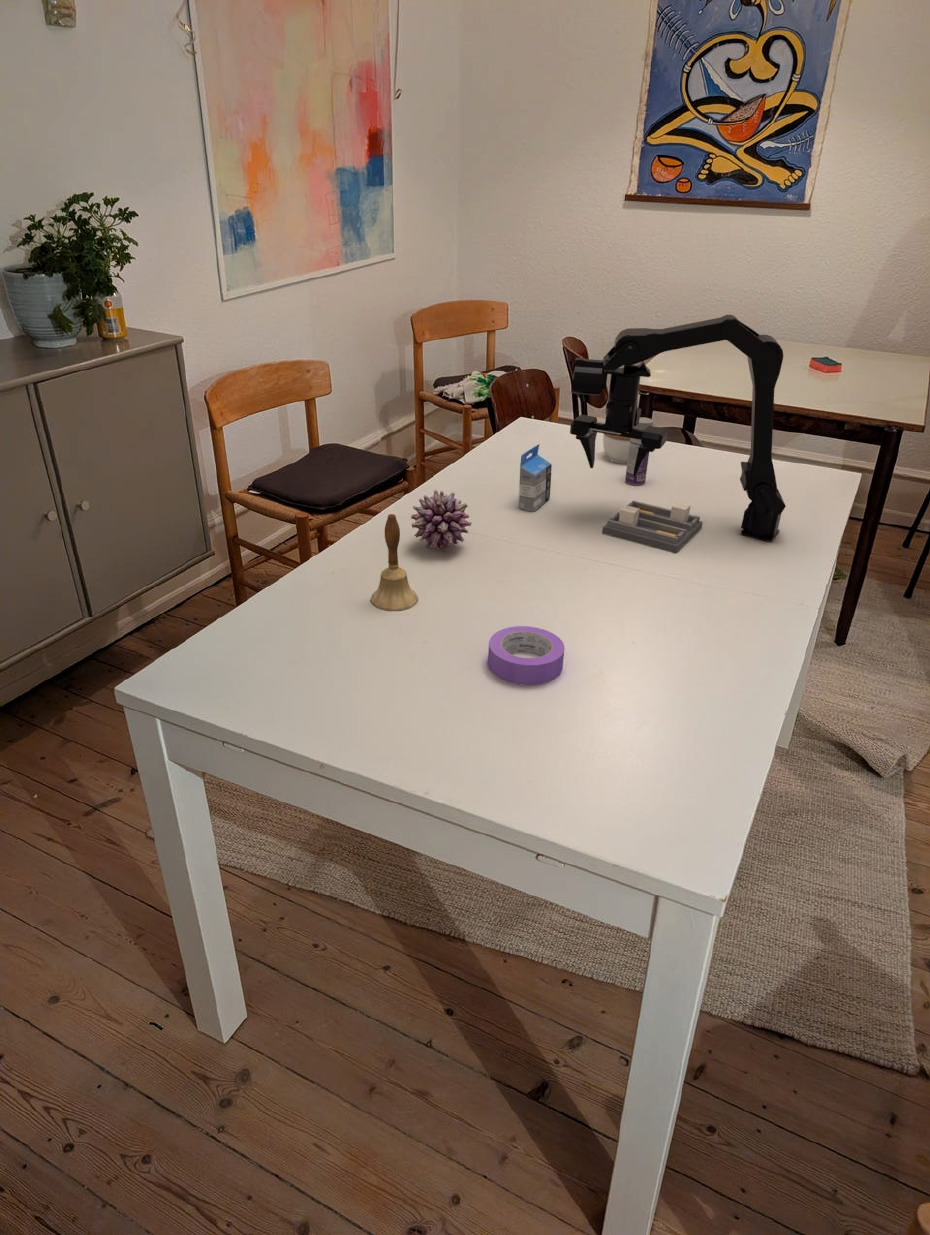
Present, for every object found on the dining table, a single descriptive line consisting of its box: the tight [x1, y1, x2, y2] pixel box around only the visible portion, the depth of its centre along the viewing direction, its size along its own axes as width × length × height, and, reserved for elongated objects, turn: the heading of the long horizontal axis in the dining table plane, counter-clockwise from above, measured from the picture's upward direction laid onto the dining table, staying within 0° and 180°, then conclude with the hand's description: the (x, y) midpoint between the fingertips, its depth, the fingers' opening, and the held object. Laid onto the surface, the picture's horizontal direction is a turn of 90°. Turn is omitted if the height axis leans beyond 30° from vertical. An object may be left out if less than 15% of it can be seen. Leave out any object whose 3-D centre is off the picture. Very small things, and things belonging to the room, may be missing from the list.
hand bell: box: [370, 513, 419, 612], centre depth 149 cm, size 8×8×16 cm
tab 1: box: [619, 504, 640, 526], centre depth 179 cm, size 3×3×4 cm
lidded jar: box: [602, 432, 630, 465], centre depth 217 cm, size 11×11×9 cm
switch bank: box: [601, 500, 703, 554], centre depth 181 cm, size 16×15×3 cm
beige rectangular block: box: [670, 501, 691, 522], centre depth 181 cm, size 3×3×4 cm
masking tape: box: [487, 625, 565, 686], centre depth 135 cm, size 12×12×4 cm
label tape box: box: [518, 443, 553, 512], centre depth 190 cm, size 9×4×12 cm, turn 151°
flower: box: [410, 489, 473, 552], centre depth 169 cm, size 12×12×12 cm
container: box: [624, 416, 654, 487], centre depth 202 cm, size 5×5×15 cm
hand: (613, 471), depth 180 cm, fingers open, 9 cm apart
